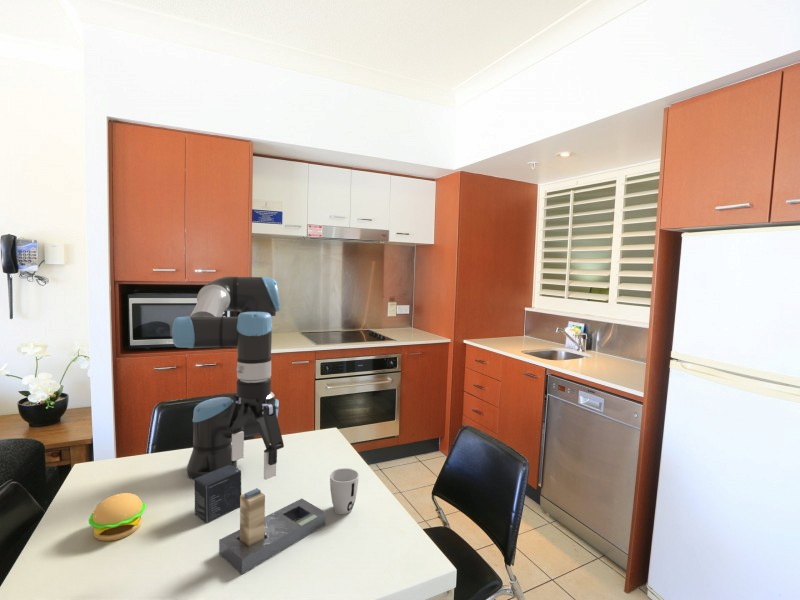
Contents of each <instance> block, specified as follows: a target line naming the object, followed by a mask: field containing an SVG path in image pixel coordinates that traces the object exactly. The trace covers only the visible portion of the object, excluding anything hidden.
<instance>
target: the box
mask: <svg viewBox="0 0 800 600" xmlns="http://www.w3.org/2000/svg"><path fill="white" fill-rule="evenodd" d="M193 480H194V481H193V482H194V483H193V486H194V516H196V517H197V518H198V519H199V520H201V521H203V522H204V523H206V524H209V523H211V522H212V521H214V520H216V519H218V518H221V517H223V516H225V515H226V514H228V513H230V512H232V511H234V510H236V509H238V508H240V495H242V470H241V469H238V468H237V467H236V468H235V467H233V466H230V465H227V466H225V467H222V468H220V469H217V470H215V471H212V472H210V473H207V474H205V475H202V476H200V477H197V478H195V479H193Z"/></svg>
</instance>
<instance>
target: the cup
mask: <svg viewBox="0 0 800 600" xmlns="http://www.w3.org/2000/svg"><path fill="white" fill-rule="evenodd" d="M359 475H360V474H359V472H358V471H357V470H356V469H353V468H347V467H345V468H344V467H343V468H337V469H335V470H333V471H331V472H330V474H329V488H330V496H331V501H332V502H331V503H332V505H333V509H334V512H335V513H336V514H339V515H347V514H349V513H351V512H352V511H353V508H354V505H355V503H356V499H357V493H358V486H359Z"/></svg>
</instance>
